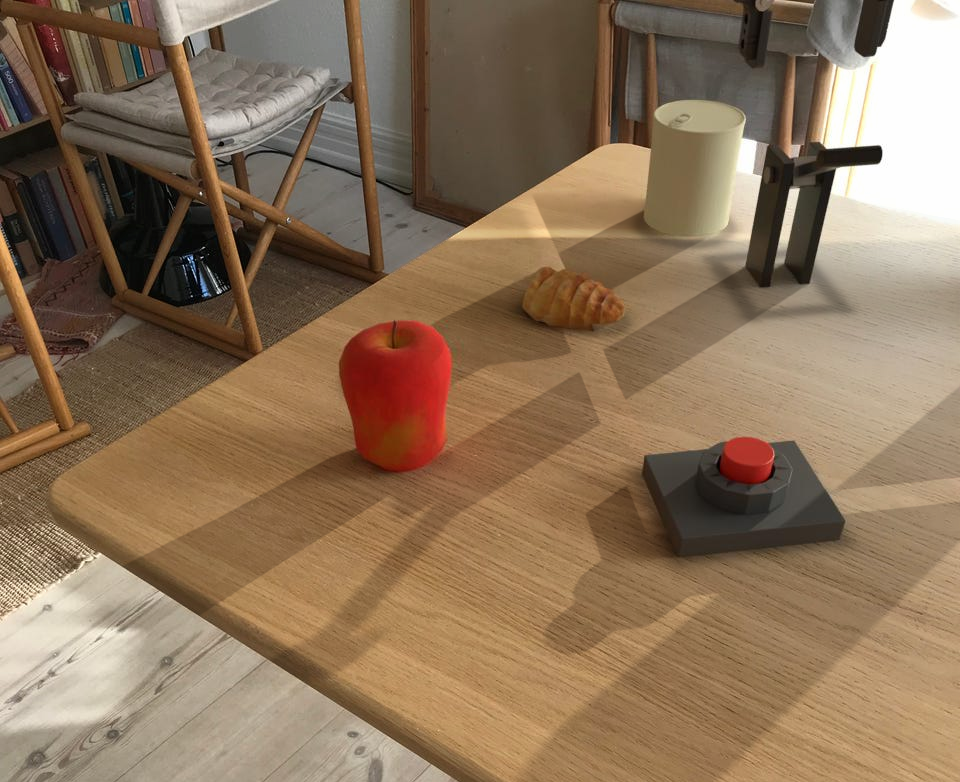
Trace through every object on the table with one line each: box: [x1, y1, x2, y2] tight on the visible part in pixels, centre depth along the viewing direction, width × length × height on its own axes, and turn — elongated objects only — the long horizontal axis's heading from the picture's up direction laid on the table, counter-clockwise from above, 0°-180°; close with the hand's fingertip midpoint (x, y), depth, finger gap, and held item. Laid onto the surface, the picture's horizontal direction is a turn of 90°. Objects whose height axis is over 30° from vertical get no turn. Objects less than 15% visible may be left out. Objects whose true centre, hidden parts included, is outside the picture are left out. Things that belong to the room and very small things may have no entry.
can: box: [643, 99, 747, 238], centre depth 107 cm, size 9×9×12 cm
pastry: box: [521, 266, 627, 332], centre depth 97 cm, size 9×7×4 cm
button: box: [720, 436, 774, 485], centre depth 75 cm, size 4×4×2 cm
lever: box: [789, 144, 883, 190], centre depth 90 cm, size 12×5×2 cm, turn 9°
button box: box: [641, 440, 846, 559], centre depth 76 cm, size 12×10×4 cm
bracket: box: [745, 141, 837, 289], centre depth 98 cm, size 12×9×13 cm
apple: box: [338, 319, 453, 473], centre depth 79 cm, size 9×8×12 cm
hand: (809, 59), depth 76 cm, fingers open, 8 cm apart
